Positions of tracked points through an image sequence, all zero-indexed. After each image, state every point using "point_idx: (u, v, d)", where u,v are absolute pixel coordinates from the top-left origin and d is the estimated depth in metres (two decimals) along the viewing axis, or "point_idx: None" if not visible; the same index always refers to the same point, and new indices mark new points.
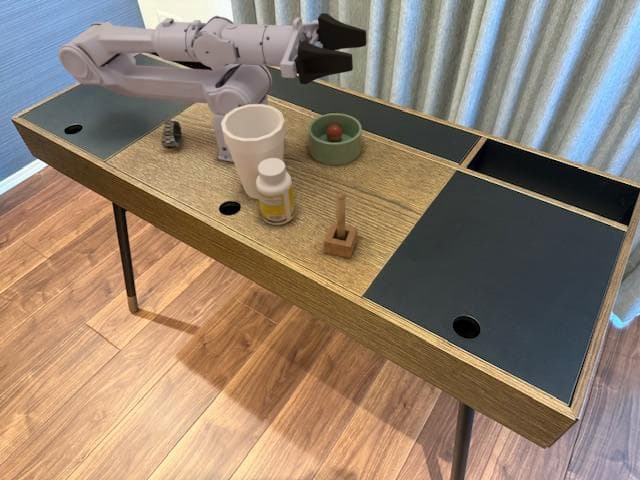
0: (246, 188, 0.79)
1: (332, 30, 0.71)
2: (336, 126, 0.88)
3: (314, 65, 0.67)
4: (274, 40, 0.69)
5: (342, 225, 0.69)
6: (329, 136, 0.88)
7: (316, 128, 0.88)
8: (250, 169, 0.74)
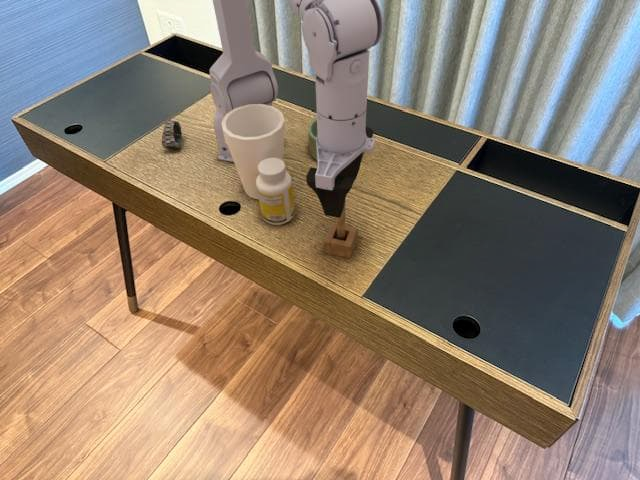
0: (246, 188, 0.79)
1: None
2: None
3: None
4: (351, 133, 0.55)
5: (342, 225, 0.69)
6: None
7: (316, 128, 0.88)
8: (250, 168, 0.74)
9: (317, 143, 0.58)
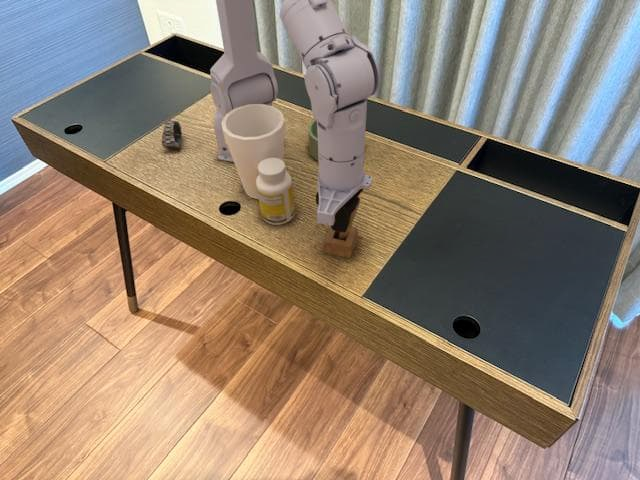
0: (246, 188, 0.79)
1: None
2: None
3: None
4: (350, 172, 0.59)
5: (348, 227, 0.68)
6: None
7: (316, 128, 0.88)
8: (250, 168, 0.74)
9: (318, 180, 0.62)
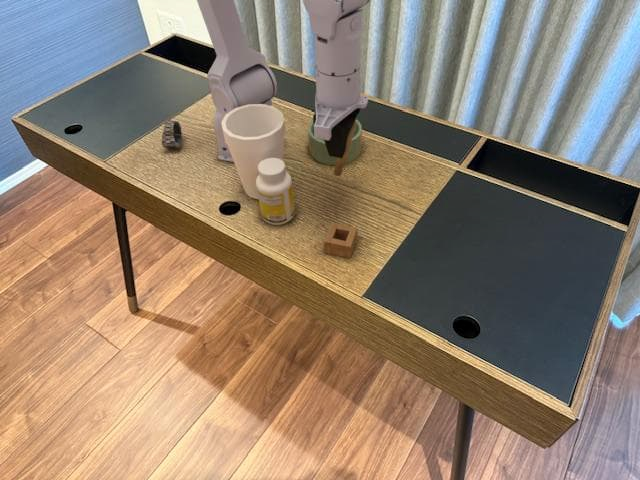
0: (246, 188, 0.79)
1: None
2: None
3: None
4: (346, 88, 0.61)
5: (345, 154, 0.70)
6: None
7: None
8: (250, 168, 0.74)
9: (316, 100, 0.64)
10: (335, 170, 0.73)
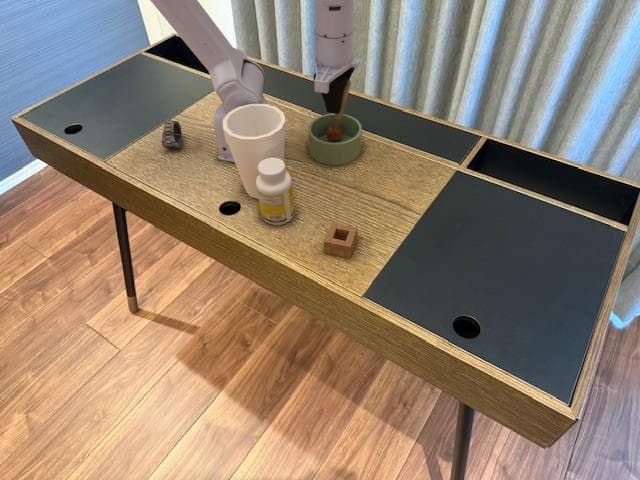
0: (246, 187, 0.79)
1: None
2: None
3: (329, 84, 0.78)
4: (341, 49, 0.72)
5: (341, 110, 0.82)
6: (329, 136, 0.88)
7: (316, 128, 0.88)
8: (249, 168, 0.74)
9: (316, 61, 0.75)
10: (333, 126, 0.85)
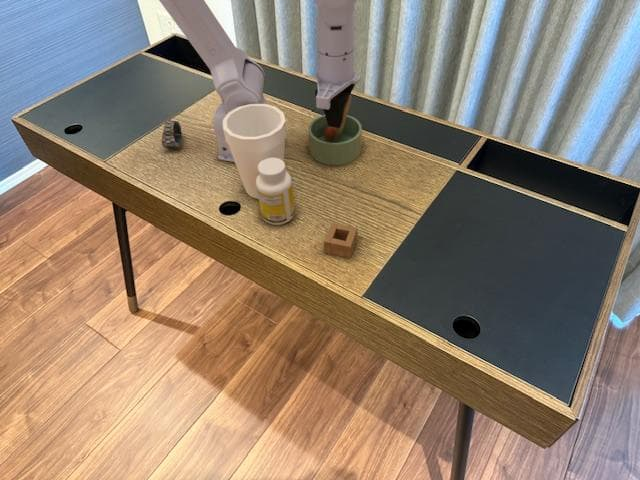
0: (246, 187, 0.79)
1: None
2: (332, 128, 0.87)
3: (330, 100, 0.80)
4: (342, 67, 0.74)
5: (342, 124, 0.84)
6: (327, 139, 0.88)
7: (316, 128, 0.88)
8: (249, 168, 0.74)
9: (317, 77, 0.77)
10: (334, 139, 0.87)
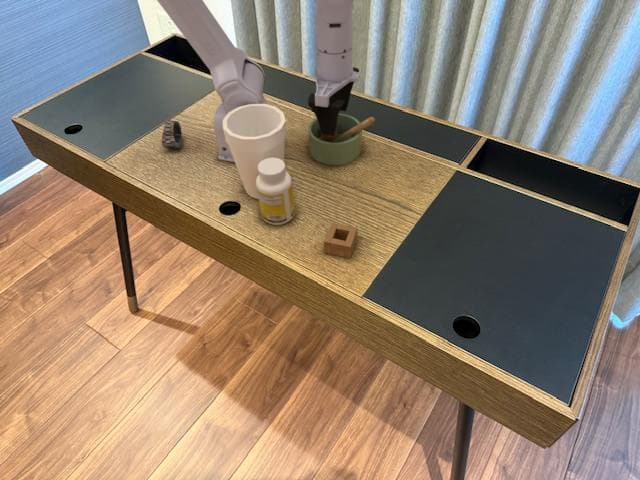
0: (246, 187, 0.79)
1: (346, 85, 0.83)
2: None
3: (324, 107, 0.78)
4: (341, 64, 0.74)
5: (350, 136, 0.85)
6: (324, 138, 0.88)
7: (316, 128, 0.88)
8: (249, 168, 0.74)
9: (316, 75, 0.77)
10: (332, 142, 0.87)
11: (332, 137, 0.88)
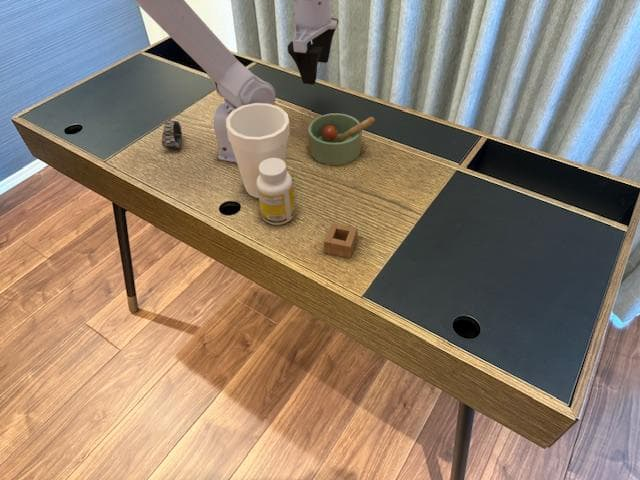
0: (246, 186, 0.79)
1: (326, 35, 0.85)
2: (326, 127, 0.87)
3: (303, 55, 0.81)
4: (318, 11, 0.77)
5: (350, 136, 0.85)
6: (325, 139, 0.88)
7: (316, 128, 0.88)
8: (251, 167, 0.74)
9: (295, 23, 0.80)
10: (332, 142, 0.87)
11: (332, 139, 0.88)
